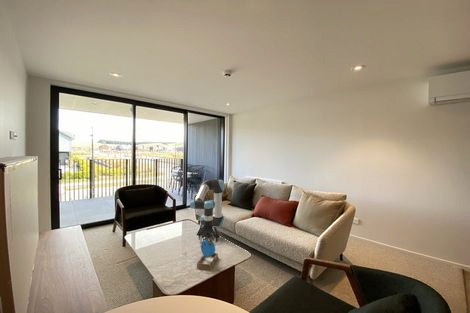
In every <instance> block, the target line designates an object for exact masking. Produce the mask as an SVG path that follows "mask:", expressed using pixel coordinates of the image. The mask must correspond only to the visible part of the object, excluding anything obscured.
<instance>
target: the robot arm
mask: <svg viewBox="0 0 470 313" xmlns="http://www.w3.org/2000/svg"><path fill="white" fill-rule="evenodd" d="M225 187H226V186H225V181H224V180H223V179H210V178H208V179H206V180H205V181H203V182H201V184H200V186H199V190H198V192H197V194H196V197H195V199H193V200H191V201H190V203H189V207H190V209H191V210H192V209H193V210H203V214H202V215H201V216H200V220H199V221H200V225H199V229H198V231H197V233H196V236H198V241H199V245H201V243H202V241H203V238H204V237H208V238H211V237H212V236H213V237H214V242H213V243H214V246H215V247H216V246H217V242H218V239H219V238H220V237H221V236H220V234H219V232H218V228H221V227H223V226H224V223H225V216H224V214H223V212H222V210H223V209H222V208H223V207H222V206H223V205H222V204H223V202H222V200H223V198H222V197H223V196H222V195H223V193H224V191H225ZM208 191H212V193H213V199H209V200H204V199H205V197H206V195H207V192H208Z"/></svg>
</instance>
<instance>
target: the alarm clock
mask: <svg viewBox="0 0 470 313" xmlns="http://www.w3.org/2000/svg"><path fill="white" fill-rule="evenodd" d="M214 243H215V242H214V241H213V239H210V238H209V237H204V238H202V243H201V244H200V251H201V253H202V255H204V256H205V257H209V256H211V255H213V254H214V253H216V246H214Z"/></svg>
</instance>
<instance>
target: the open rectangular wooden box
mask: <svg viewBox="0 0 470 313" xmlns="http://www.w3.org/2000/svg"><path fill="white" fill-rule="evenodd" d="M218 255H219V253H217V252H215V253H214V254H213V255H211V256H209V257H205V256H204V255H203V254H202V255H201V257H200V258H199V259H198V261H197V262H196V268H197V269H200V270H208V271H211V270H212V269H213V267H214V265H215V263H216V262H217V260H218V258H219V256H218Z"/></svg>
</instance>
